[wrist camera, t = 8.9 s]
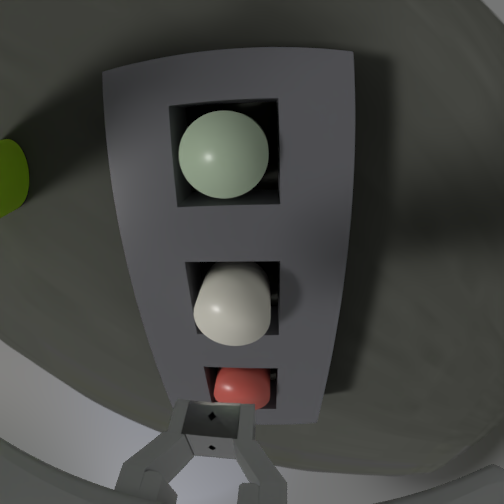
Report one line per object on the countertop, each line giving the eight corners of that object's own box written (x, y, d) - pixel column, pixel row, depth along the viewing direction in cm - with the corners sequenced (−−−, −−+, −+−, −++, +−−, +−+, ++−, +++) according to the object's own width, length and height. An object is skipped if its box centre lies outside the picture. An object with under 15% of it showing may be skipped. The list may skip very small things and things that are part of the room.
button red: (216, 348, 21) (210, 377, 19) (270, 349, 21) (270, 379, 18) (221, 381, 23) (217, 409, 20) (270, 382, 23) (269, 411, 20)
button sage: (192, 114, 14) (175, 114, 12) (267, 110, 14) (267, 108, 12) (197, 185, 16) (182, 200, 13) (269, 183, 16) (269, 197, 13)
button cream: (200, 257, 17) (188, 284, 14) (270, 256, 17) (270, 285, 14) (207, 313, 19) (199, 344, 16) (270, 313, 19) (270, 346, 16)
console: (127, 76, 14) (102, 71, 11) (338, 62, 13) (353, 51, 11) (183, 393, 25) (177, 418, 22) (313, 396, 24) (316, 422, 22)
